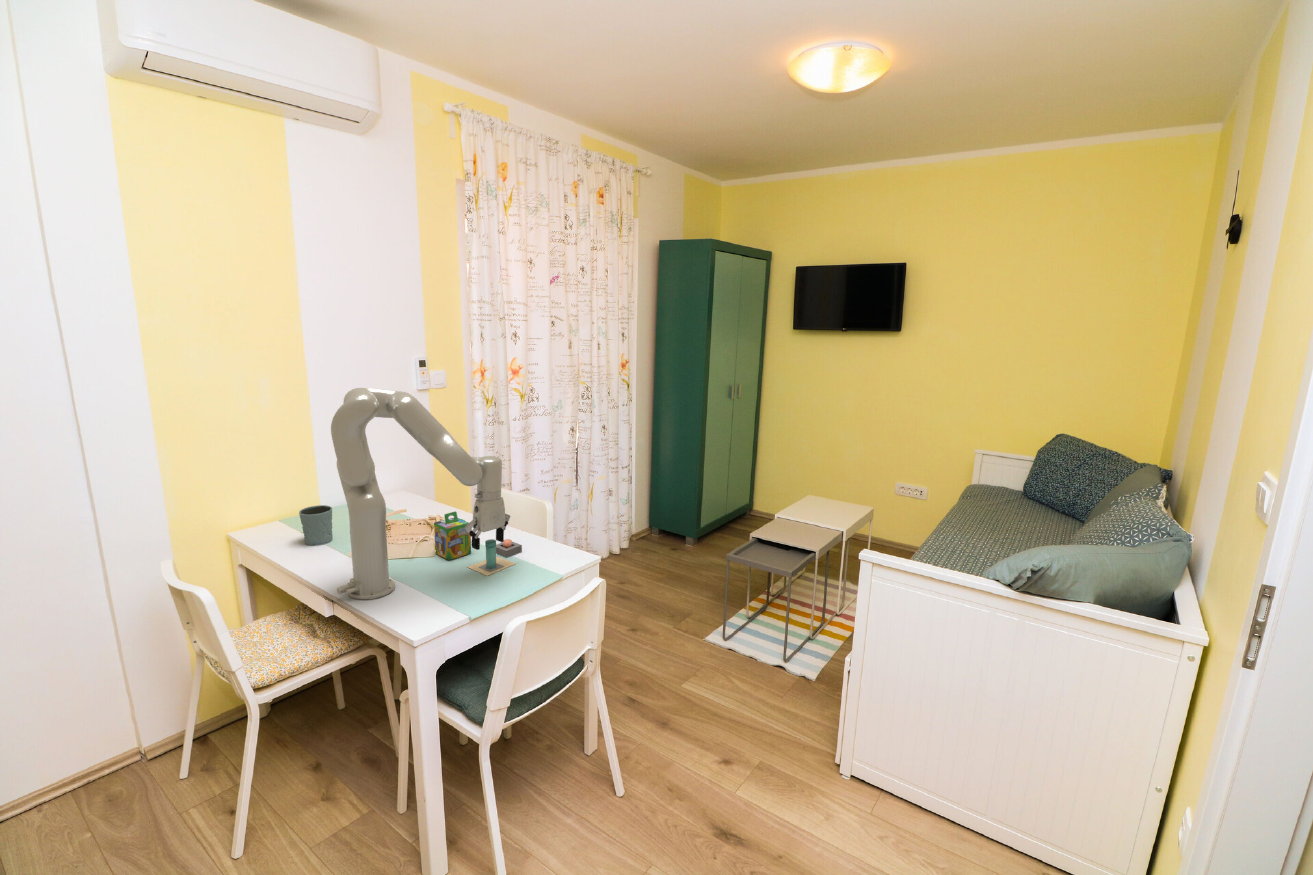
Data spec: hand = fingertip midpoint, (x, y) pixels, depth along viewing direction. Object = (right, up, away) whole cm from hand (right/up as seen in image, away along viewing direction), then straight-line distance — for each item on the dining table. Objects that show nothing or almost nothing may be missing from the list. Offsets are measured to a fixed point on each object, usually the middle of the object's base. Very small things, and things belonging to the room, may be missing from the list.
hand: (487, 544), depth 192 cm
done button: (+3, -4, +15) cm, 16 cm away
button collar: (+3, -5, +15) cm, 16 cm away
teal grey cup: (-66, -2, +18) cm, 69 cm away
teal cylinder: (+1, -8, +2) cm, 8 cm away
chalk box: (-16, -6, +12) cm, 20 cm away
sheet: (0, -8, +3) cm, 8 cm away
